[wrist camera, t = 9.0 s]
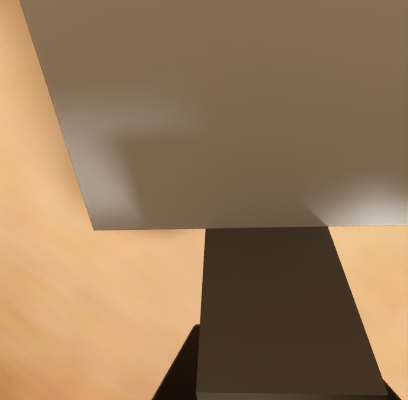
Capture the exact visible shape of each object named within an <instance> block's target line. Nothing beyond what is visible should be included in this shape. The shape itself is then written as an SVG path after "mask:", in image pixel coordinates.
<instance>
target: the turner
mask: <svg viewBox="0 0 408 400" xmlns="http://www.w3.org/2000/svg"><path fill="white" fill-rule="evenodd" d="M20 3H21V6H22V9H23V13H24V16H25V19H26V22H27V25H28V28H29V31H30V34H31V37H32V40H33V43H34V47H35V50H36V53H37V56H38V59H39V62H40V65H41V68H42V71H43V74H44V78H45V81H46V84H47V87H48V90H49V93H50V96H51V99H52V102H53V105H54V108H55V112H56V115H57V118H58V121H59V124H60V127H61V130H62V133H63V136H64V139H65V143H66V146H67V149H68V152H69V155H70V158H71V161H72V164H73V167H74V170H75V173H76V177H77V180H78V183H79V186H80V189H81V192H82V195H83V198H84V201H85V204H86V208H87V211H88V214H89V217H90V220H91V223H92V226H93V229H94V230H151V229H206V230H205V248H204V265H203V282H202V300H201V317H200V334H199V351H198V369H197V386H196V395H197V400H386V399H387V397H388V392H387V390H386V387H385V384H384V381H383V379H382V376H381V373H380V370H379V367H378V365H377V362H376V359H375V356H374V354H373V351H372V348H371V345H370V343H369V340H368V337H367V334H366V331H365V329H364V326H363V323H362V320H361V318H360V315H359V312H358V309H357V307H356V304H355V301H354V298H353V295H352V293H351V290H350V287H349V284H348V282H347V279H346V276H345V273H344V271H343V268H342V265H341V262H340V259H339V257H338V254H337V251H336V248H335V246H334V243H333V240H332V237H331V235H330V232H329V229H328V226H379V225H408V0H20Z"/></svg>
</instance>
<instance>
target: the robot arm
mask: <svg viewBox="0 0 408 400" xmlns="http://www.w3.org/2000/svg"><path fill="white" fill-rule="evenodd" d="M199 334H200V324H196V325H195V326H194V327H193V328H192V330H191V332H190V334H189V335H188V337H187V339H186V341H185V342H184V344H183V346H182V348H181V349H180V351H179V353H178V355H177V356H176V358H175V360H174V361H173V363H172V365H171V367H170V368H169V370H168V372H167V374H166V375H165V377H164V379H163V381H162V382H161V384H160V386H159V388H158V389H157V391H156V393H155V395H154V396H153V398H152V400H197V395H196V386H197V369H198V351H199ZM383 381H384V380H383ZM384 384H385V387H386V390H387V392H388V397H387V399H386V400H401V399H400V398H399V396H398V395H397V394H396V393H395V392H394V391H393V390H392V389H391V388H390V386H389V385H388V384H387V383H386V382H385V381H384Z"/></svg>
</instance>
